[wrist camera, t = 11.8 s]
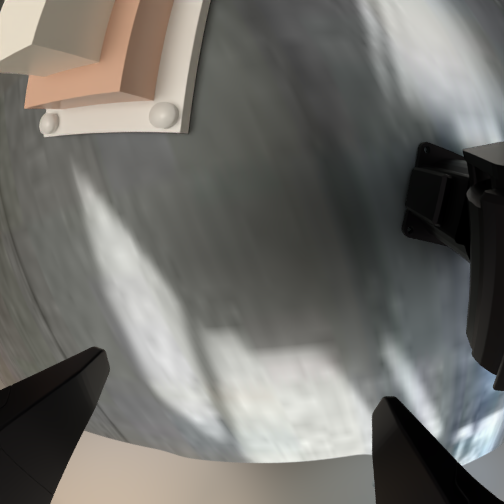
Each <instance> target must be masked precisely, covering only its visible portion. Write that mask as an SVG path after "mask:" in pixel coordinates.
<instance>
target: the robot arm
mask: <svg viewBox="0 0 504 504" xmlns="http://www.w3.org/2000/svg"><path fill="white" fill-rule="evenodd" d="M425 146H426V147H427V149H428V151H427V153H425V151H424V148H425ZM463 155H464V157H463V156H461V155H458V154H456V153H454V152H451V151H449V150H446V149H444V148H441V147H439V146H436V145H433V144H431V143H428V142H422V143H421V144H420V145H419V147H418V153H417V159H416V165H415V168H414V169H413V170H412V174H411V180H410V185H409V190H408V194H407V199H406V203H405V206H406V208H407V209H406V213H405V217H404V221H403V225H402V233H403V234H404V235H405V236H407V237H409V238H414V239H418V240H423V241H427V242H432V243H436V244H440V245H445V246H448V247H450V248H451V249H452V250H454V251H455V252H456V253H458V254H459V255H460V256H462V257H463V258H464V259H465V260H467V261H468V262H469V263H470V290H469V304H468V315H467V328H466V334H467V337H468V340H469V343H470V346H471V348H472V356H473V357H474V359H475V360H476V361H477V362H478V363H479V364H480V365H481V366H482V367H484V368H485V369H486V370H488V371H489V372H491V373H492V374H495V375H497V376H496V379H495V382H494V384H493V388H494V390H498V391H504V142H499V143H493V144H488V145H482V146H477V147H472V148H467V149H463ZM408 227H411V230H410V231H409V232H407V229H408ZM109 372H110V366H109V362H108V358H107V354H106V351H105V350H104V349H101V348H98V347H91V348H89V349H87V350H85V351H83V352H81V353H79V354H77V355H74V356H72V357H70V358H68V359H66V360H64V361H62V362H60V363H58V364H56V365H53V366H51V367H49V368H47V369H45V370H43V371H41V372H39V373H36V374H34V375H32V376H30V377H28V378H26V379H24V380H21V381H19V382H17V383H15V384H13V385H12V386H8V387H6V388H4V389H2V390H0V504H50V503H51V500H52V498H53V496H54V495H53V494H54V493H55V491H56V488H57V486H58V483H59V481H60V479H61V477H62V474H63V473H64V470H65V468H66V466H67V464H68V462H69V460H70V457H71V455H72V453H73V451H74V449H75V447H76V445H77V443H78V441H79V439H80V437H81V435H82V433H83V431H84V429H85V427H86V425H87V423H88V421H89V419H90V417H91V415H92V414H93V412H94V409H95V407H96V405H97V403H98V400H99V397H100V395H101V392H102V390H103V387H104V385H105V382H106V380H107V377H108V375H109ZM372 457H373V469H374V481H375V495H376V504H504V502H503V501H501V500H500V499H498V498H497V497H496V496H495V495H493V494H492V493H491V492H489V491H488V490H487V489H486V488H485V487H484V486H482V485H481V484H480V483H479V482H478V481H477V480H476V479H474V478H473V477H472V476H471V475H470V474H469V473H468V472H467V471H466V470H465V469H464V468H463V467H462V466H461V465H460V464H459V463H458V462H457V461H456V459H455V458H454V457H453V456H452V455H451V454H450V453H449V452H448V451H447V450H446V449H445V448H444V447H443V446H442V445H441V444H440V443H439V442H438V440H437V439H436V438H435V437H434V436H433V435H432V434H431V433H430V432H429V431H428V430H427V429H426V428H425V427H424V426H423V425H422V424H421V423H420V422H419V421H418V419H417V418H416V417H415V416H414V415H413V414H412V413H411V412H410V411H409V410H408V409H407V408H406V407H405V406H404V405H403V404H402V403H401V402H400V401H399V400H398V398H396V397H394V396H386V397H383V398H382V399H381V401H380V402H379V404H378V406H377V407H376V408H375V410H374V412H373V415H372Z"/></svg>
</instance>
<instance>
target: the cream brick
mask: <svg viewBox="0 0 504 504" xmlns="http://www.w3.org/2000/svg"><path fill="white" fill-rule="evenodd" d="M114 2H115V0H5V2H4V4H3V7H2V9H1V12H0V73H14V74H25V75H34V76H42V77H46V76H49V75H52V74H55V73H59V72H62V71H66V70H70V69H73V68H77V67H81V66H86V65H90V64H94V63H99V60H100V55H101V50H102V46H103V42H104V38H105V34H106V30H107V26H108V22H109V19H110V15H111V12H112V9H113V5H114Z"/></svg>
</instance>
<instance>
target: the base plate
mask: <svg viewBox="0 0 504 504" xmlns="http://www.w3.org/2000/svg"><path fill="white" fill-rule="evenodd" d="M210 2H211V0H115V2H114V5H113V9H112V12H111V15H110V19H109V22H108V26H107V30H106V34H105V38H104V42H103V46H102V50H101V55H100V60H99V63H94V64H90V65H86V66H81V67H77V68H73V69H70V70H66V71H62V72H59V73H55V74H52V75H49V76H46V77H42V76H34V75H29V80H28V86H27V92H26V99H25V106H24V109H46V114H44V115H43V116H42V118H41V120H40V125H39V128H40V131H41V133H42V134H44V137H50V136H62V135H74V134H88V133H110V132H166V133H188V130H189V122H190V114H191V107H192V99H193V92H194V86H195V79H196V73H197V67H198V61H199V55H200V50H201V44H202V39H203V34H204V29H205V24H206V19H207V15H208V10H209V6H210Z"/></svg>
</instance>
